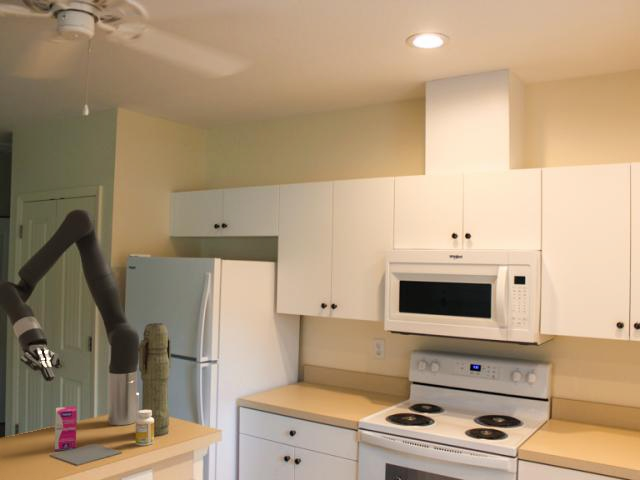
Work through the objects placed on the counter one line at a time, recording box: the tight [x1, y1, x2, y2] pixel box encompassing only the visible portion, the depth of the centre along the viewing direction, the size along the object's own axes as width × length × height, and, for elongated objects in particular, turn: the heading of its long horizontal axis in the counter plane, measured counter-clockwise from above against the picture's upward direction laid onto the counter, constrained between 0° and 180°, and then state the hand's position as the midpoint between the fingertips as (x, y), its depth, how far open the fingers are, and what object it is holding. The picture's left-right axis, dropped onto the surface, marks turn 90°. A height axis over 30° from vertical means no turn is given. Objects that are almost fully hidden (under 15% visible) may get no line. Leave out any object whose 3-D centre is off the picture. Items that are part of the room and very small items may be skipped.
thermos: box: [138, 322, 172, 438], centre depth 200 cm, size 9×12×35 cm
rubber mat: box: [49, 443, 123, 466], centre depth 177 cm, size 14×14×1 cm
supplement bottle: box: [135, 409, 155, 447], centre depth 189 cm, size 5×5×10 cm
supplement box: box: [54, 405, 78, 452], centre depth 184 cm, size 6×6×12 cm
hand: (50, 379), depth 191 cm, fingers closed
